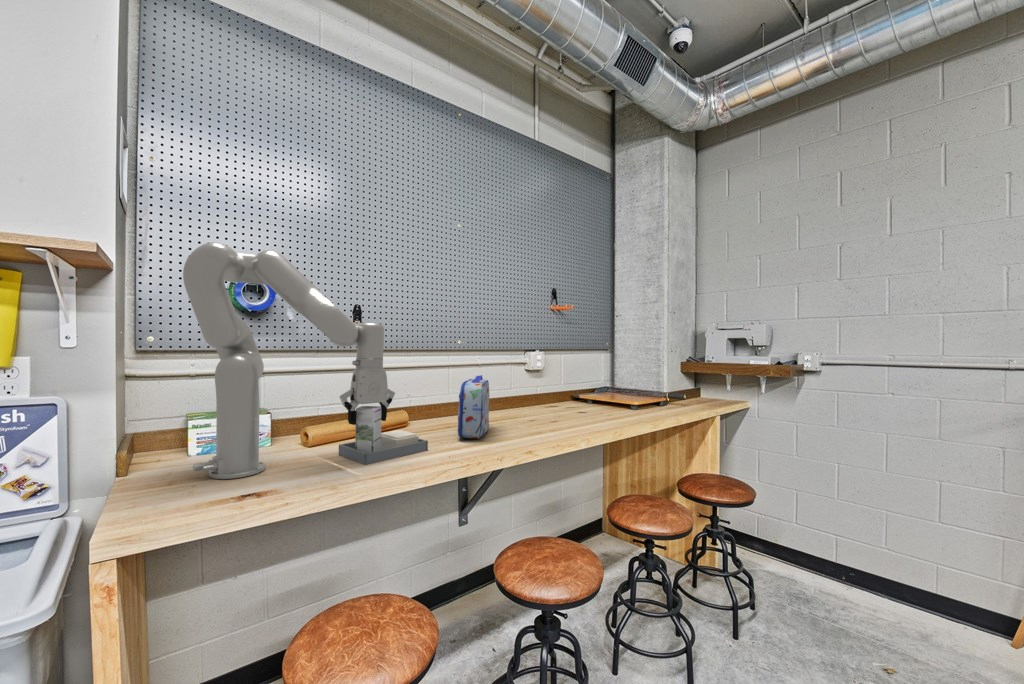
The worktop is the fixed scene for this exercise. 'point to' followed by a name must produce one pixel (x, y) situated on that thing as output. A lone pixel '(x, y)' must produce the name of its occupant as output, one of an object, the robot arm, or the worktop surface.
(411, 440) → the white lidded box
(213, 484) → the worktop surface
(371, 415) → the syrup box
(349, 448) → the tray
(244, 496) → the worktop surface
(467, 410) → the lunch box
